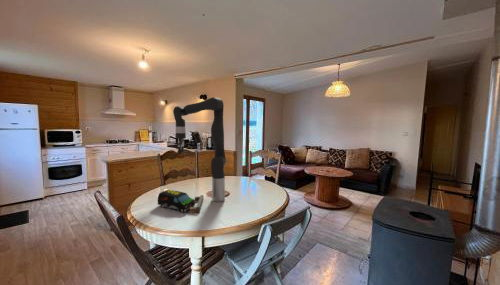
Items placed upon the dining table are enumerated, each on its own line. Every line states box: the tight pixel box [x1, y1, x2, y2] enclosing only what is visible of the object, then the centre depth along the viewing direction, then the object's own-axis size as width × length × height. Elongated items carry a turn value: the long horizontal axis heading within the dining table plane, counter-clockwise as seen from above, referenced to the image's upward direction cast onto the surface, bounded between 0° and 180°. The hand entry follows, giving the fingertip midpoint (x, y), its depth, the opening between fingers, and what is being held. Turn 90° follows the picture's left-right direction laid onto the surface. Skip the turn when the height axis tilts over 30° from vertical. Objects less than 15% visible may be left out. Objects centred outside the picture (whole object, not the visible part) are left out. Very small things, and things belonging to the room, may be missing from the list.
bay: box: [189, 194, 204, 214], centre depth 140 cm, size 6×21×4 cm, turn 6°
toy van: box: [157, 189, 196, 214], centre depth 138 cm, size 11×25×10 cm, turn 66°
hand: (180, 152), depth 161 cm, fingers open, 8 cm apart
